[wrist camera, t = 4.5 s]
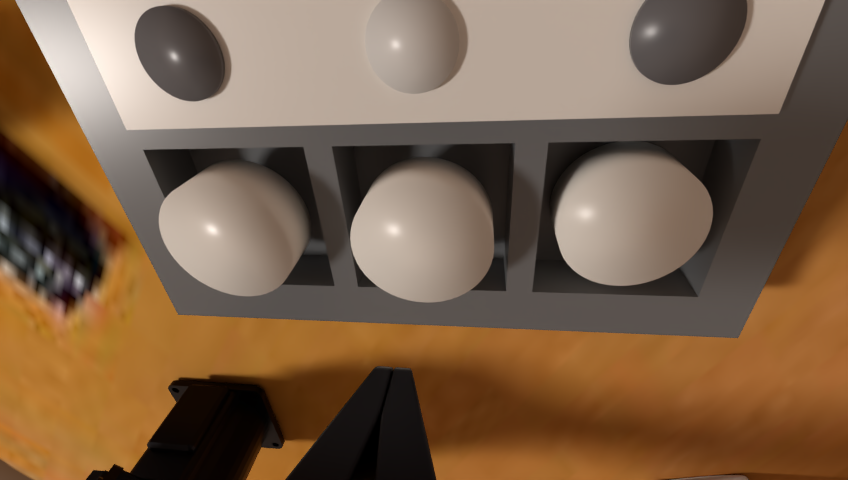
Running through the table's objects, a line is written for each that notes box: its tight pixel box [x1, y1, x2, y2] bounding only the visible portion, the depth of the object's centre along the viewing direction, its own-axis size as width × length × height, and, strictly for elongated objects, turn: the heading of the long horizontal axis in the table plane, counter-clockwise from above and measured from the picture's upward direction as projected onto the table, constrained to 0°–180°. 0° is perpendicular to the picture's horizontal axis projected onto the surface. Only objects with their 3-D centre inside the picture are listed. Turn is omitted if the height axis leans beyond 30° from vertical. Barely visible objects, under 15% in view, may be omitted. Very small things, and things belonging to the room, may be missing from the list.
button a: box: [549, 141, 713, 286], centre depth 14 cm, size 5×5×2 cm
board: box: [15, 0, 848, 338], centre depth 15 cm, size 14×24×4 cm, turn 93°
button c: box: [159, 159, 312, 296], centre depth 15 cm, size 5×5×2 cm
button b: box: [350, 157, 494, 303], centre depth 14 cm, size 5×5×2 cm
